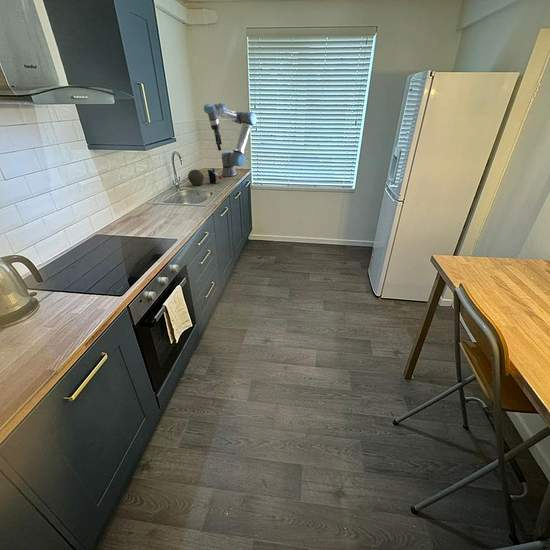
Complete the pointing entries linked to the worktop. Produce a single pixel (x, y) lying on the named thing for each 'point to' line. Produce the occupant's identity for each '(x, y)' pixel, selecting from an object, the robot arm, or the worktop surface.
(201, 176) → the cantaloupe
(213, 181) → the switch bracket
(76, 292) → the worktop surface
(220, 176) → the lever
